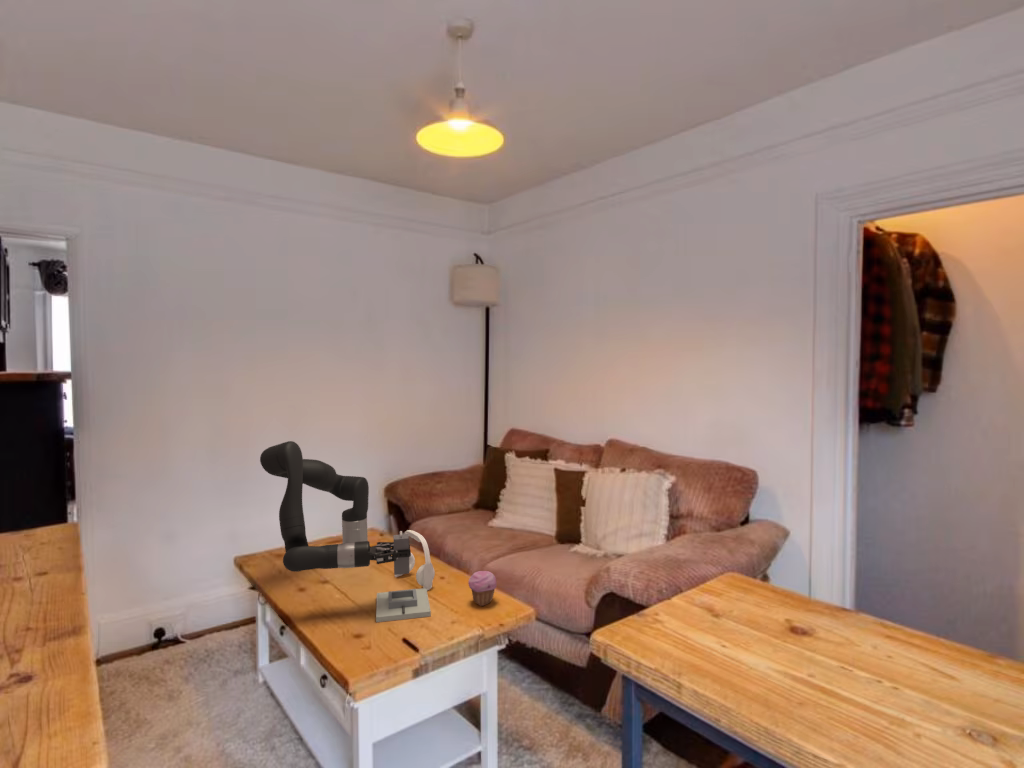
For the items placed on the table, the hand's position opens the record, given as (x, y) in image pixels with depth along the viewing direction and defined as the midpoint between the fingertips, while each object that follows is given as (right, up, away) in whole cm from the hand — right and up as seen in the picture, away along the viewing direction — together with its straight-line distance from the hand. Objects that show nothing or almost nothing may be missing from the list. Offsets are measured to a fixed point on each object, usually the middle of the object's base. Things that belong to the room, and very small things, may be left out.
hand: (410, 550), depth 178 cm
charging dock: (-2, -18, 0) cm, 18 cm away
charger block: (-3, -7, 0) cm, 7 cm away
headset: (-2, -17, +19) cm, 26 cm away
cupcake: (+23, -18, +2) cm, 29 cm away
